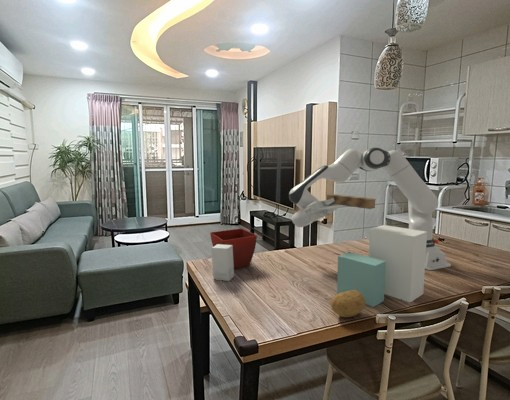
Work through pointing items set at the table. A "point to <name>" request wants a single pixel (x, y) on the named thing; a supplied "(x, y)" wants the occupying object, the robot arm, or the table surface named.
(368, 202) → the rail
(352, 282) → the teal box
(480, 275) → the table surface
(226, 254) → the skincare box
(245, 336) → the table surface
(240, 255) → the plant pot
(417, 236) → the stand
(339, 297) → the potato
